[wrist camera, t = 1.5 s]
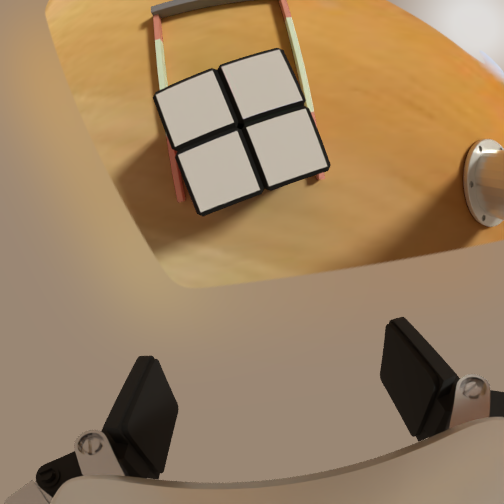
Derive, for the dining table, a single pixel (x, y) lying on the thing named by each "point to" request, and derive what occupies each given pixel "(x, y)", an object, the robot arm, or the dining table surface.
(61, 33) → the dining table surface
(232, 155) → the puzzle cube
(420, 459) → the robot arm
